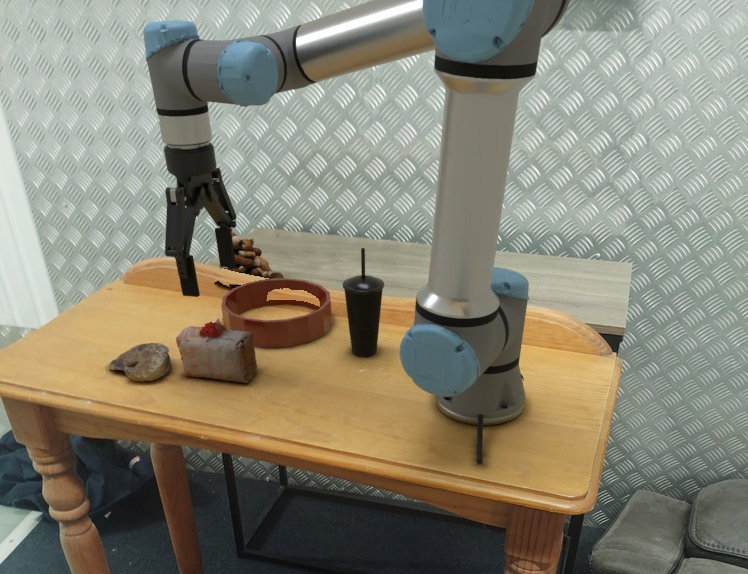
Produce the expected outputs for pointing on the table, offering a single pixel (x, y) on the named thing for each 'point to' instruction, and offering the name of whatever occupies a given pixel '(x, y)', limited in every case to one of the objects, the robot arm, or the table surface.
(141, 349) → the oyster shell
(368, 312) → the drinking cup
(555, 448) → the table surface
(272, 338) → the reddish-brown round ring
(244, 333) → the food item
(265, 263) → the bear figurine
